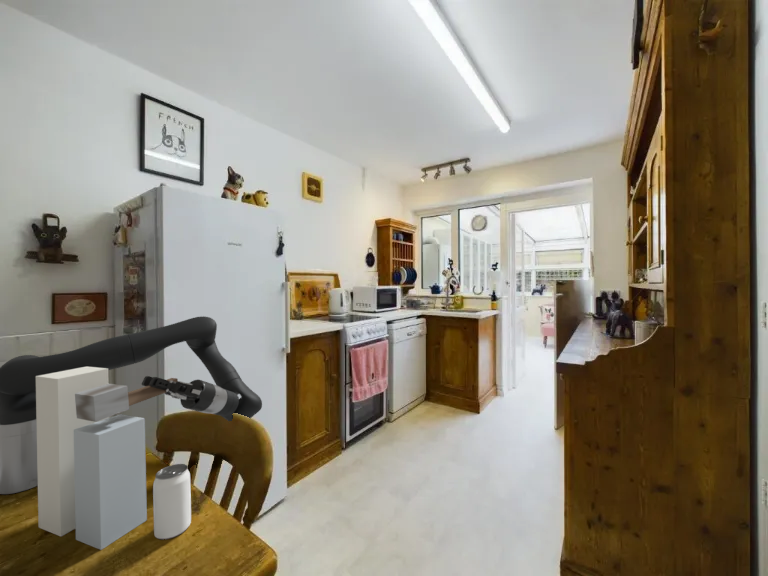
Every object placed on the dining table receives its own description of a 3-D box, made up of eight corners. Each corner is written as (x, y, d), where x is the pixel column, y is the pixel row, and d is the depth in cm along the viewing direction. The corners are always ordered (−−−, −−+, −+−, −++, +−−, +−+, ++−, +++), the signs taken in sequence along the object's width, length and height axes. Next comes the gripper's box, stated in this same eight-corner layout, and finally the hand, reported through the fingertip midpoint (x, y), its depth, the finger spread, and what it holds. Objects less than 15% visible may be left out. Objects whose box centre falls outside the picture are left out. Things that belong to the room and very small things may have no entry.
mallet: (76, 418, 65) (74, 393, 65) (166, 386, 82) (165, 367, 82) (95, 421, 63) (93, 396, 63) (183, 388, 80) (182, 368, 80)
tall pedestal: (38, 527, 69) (35, 376, 69) (89, 501, 77) (86, 366, 77) (60, 536, 66) (57, 379, 66) (111, 508, 74) (108, 368, 75)
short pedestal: (75, 539, 65) (73, 429, 65) (122, 512, 73) (120, 414, 73) (101, 549, 62) (98, 435, 62) (146, 520, 70) (144, 418, 70)
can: (173, 543, 64) (172, 481, 64) (145, 538, 65) (144, 478, 65) (198, 519, 70) (197, 464, 70) (172, 516, 71) (171, 461, 71)
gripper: (192, 381, 93) (136, 363, 79) (229, 385, 88) (176, 366, 74) (180, 408, 90) (119, 394, 76) (218, 414, 85) (161, 400, 71)
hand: (148, 380), depth 75 cm, fingers closed on mallet
